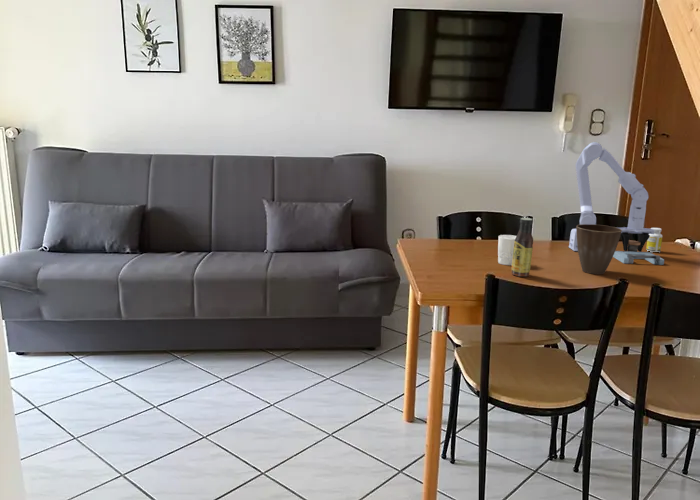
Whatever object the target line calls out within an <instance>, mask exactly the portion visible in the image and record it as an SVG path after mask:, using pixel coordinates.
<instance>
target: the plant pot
mask: <svg viewBox="0 0 700 500" xmlns="http://www.w3.org/2000/svg"><path fill="white" fill-rule="evenodd" d="M619 228H620V227H615V226H609V225H603V224H596V225H594V224H581V225H580V224H577V225H576V227H575V229H576V234H577V247H578V251H577V254H578V257H579V258H578V259H579V263H580V267H581V270H582V272H585V273H587V274H591V275H592V274H593V275H603V274H605V273H606V271H607V269H608V267H609V266H610V263H611V261H612V259H613V258H614V257H613V255H614V253H615V251H617V248H618V244H619V242H620V241H619V240H620V239H621V236H620V235H621V232H622V230H621V229H619Z"/></svg>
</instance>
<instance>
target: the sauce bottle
mask: <svg viewBox="0 0 700 500" xmlns="http://www.w3.org/2000/svg"><path fill="white" fill-rule="evenodd" d="M519 224H520V225H519V230H518V232H517V235H515V236H516V239H515V241H514V249H513V259H512V265H511V274H512V276H515V277H522V278H523V277H529V276H530V273H531V265H532V257H533V249H534V246H533V244H534V236H533V235H532V225H533V218H530V217H520V219H519Z"/></svg>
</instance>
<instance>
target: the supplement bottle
mask: <svg viewBox="0 0 700 500" xmlns="http://www.w3.org/2000/svg"><path fill="white" fill-rule="evenodd" d="M650 229H654V230H655V231H654V234H649V235H650V237H649V239H648V240H647V241H646V250H647V251H646V252H648V251H650V253H653V252H659V253H661V250H662V243H663V234H661V232H662V228H660V227H651V228H650Z"/></svg>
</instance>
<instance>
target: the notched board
mask: <svg viewBox="0 0 700 500" xmlns="http://www.w3.org/2000/svg"><path fill="white" fill-rule="evenodd" d="M628 254H632V255H653V256H654V255H655V253H653V252H648V251H641V252H639V251H637V252H633V251H624V250H615V253H614V255H613V257H612V258H614V259H616V260H617V261H618V262H621V263H622V264H628V261H629V258H627V255H628ZM634 259H635V260H645V261H647V262H649V263H651V264H653V265H655V264H656V263H657V262H659V261H657V262H655V260H656V259H654V258H633V260H632V262H633V263H632V264H634V261H635V260H634ZM632 264H631V265H632ZM664 264H665V259H664V258H662V257H660V262H659V265H658V266H662V265H663V266H664Z"/></svg>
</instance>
